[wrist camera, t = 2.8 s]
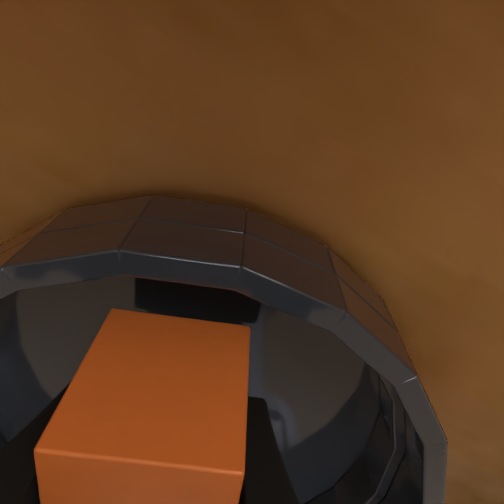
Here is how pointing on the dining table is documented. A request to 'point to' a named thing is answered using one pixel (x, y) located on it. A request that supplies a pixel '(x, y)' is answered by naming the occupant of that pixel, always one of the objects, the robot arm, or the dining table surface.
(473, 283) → the dining table surface
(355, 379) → the bowl
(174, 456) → the orange rectangular block
